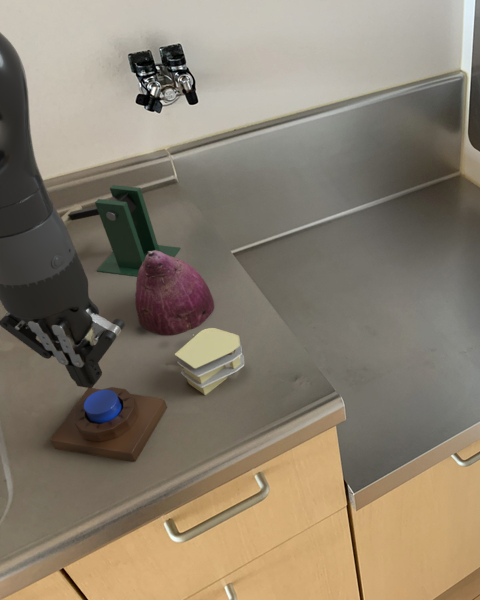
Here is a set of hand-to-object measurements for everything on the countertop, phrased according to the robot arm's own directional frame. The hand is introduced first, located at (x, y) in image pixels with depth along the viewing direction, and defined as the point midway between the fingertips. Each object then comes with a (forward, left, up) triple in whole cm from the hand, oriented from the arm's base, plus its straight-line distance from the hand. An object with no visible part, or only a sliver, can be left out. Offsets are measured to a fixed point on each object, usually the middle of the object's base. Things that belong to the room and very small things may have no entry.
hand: (89, 381), depth 68 cm
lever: (-16, +30, 0) cm, 34 cm away
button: (0, 0, -5) cm, 5 cm away
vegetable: (-1, +20, -9) cm, 22 cm away
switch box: (0, 0, -8) cm, 8 cm away
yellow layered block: (+9, +10, -9) cm, 16 cm away
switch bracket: (-12, +30, -8) cm, 33 cm away
